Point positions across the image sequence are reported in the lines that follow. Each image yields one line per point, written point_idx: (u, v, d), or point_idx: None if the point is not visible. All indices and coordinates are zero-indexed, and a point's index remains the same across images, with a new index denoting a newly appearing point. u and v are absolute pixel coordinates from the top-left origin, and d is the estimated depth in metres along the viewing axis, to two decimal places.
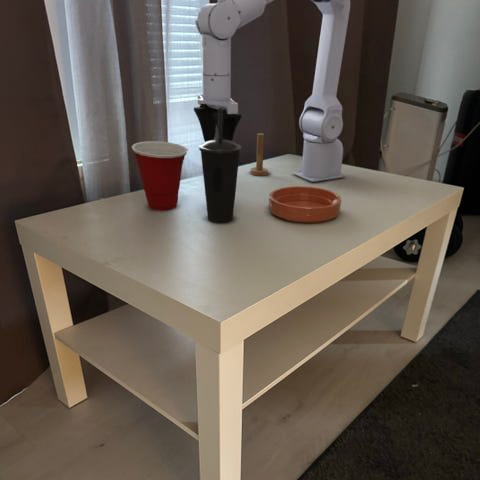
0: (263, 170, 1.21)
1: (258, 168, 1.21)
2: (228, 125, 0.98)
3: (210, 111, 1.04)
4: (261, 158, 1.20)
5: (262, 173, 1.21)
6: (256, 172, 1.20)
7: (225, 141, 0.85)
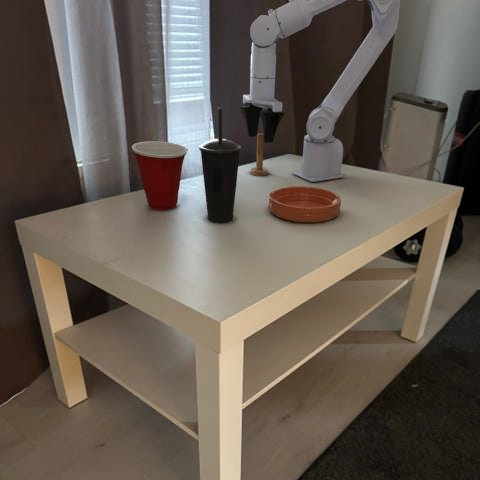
0: (263, 170, 1.21)
1: (258, 168, 1.21)
2: (272, 121, 1.13)
3: (254, 109, 1.18)
4: (261, 158, 1.20)
5: (262, 173, 1.21)
6: (256, 172, 1.20)
7: (225, 141, 0.85)
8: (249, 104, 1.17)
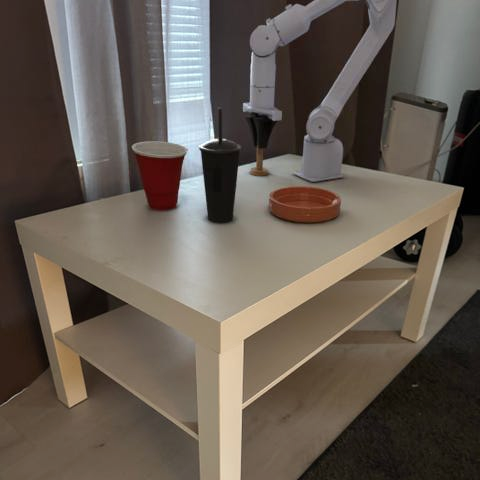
0: (263, 170, 1.21)
1: (258, 168, 1.21)
2: (265, 128, 1.16)
3: None
4: (261, 158, 1.20)
5: (262, 173, 1.21)
6: (256, 172, 1.20)
7: (225, 141, 0.85)
8: None
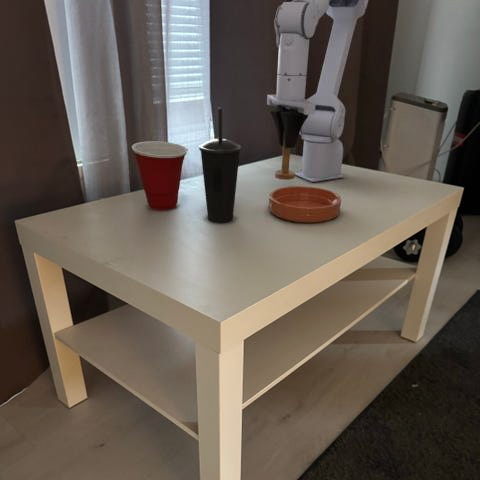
0: (289, 173, 1.04)
1: (284, 171, 1.04)
2: (294, 124, 0.99)
3: None
4: (287, 159, 1.03)
5: (288, 177, 1.03)
6: (282, 176, 1.03)
7: (225, 141, 0.85)
8: None
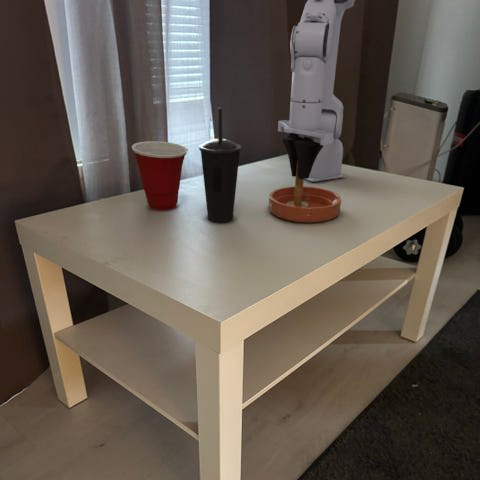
0: (303, 205, 0.96)
1: (296, 203, 0.96)
2: (309, 153, 0.90)
3: None
4: (301, 191, 0.94)
5: None
6: None
7: (225, 141, 0.85)
8: None
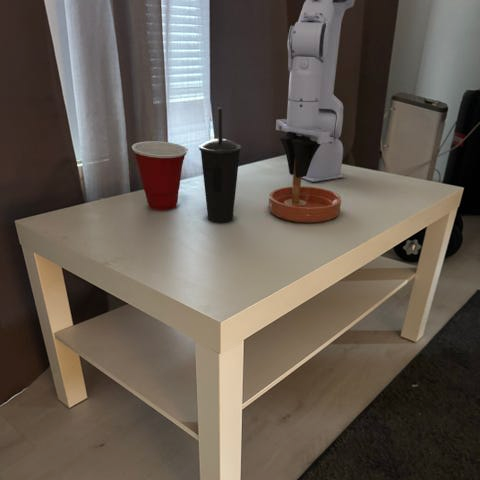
0: (300, 203, 0.97)
1: (294, 201, 0.97)
2: (306, 152, 0.91)
3: None
4: (298, 189, 0.95)
5: None
6: None
7: (225, 141, 0.85)
8: None
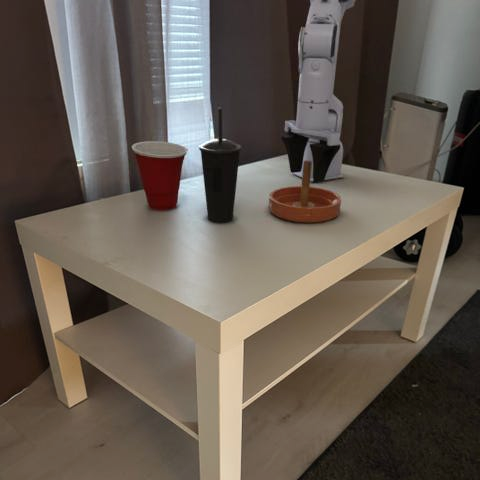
0: (309, 206, 0.97)
1: (303, 203, 0.97)
2: (324, 156, 0.89)
3: (299, 139, 0.94)
4: (307, 191, 0.95)
5: None
6: None
7: (225, 141, 0.85)
8: (293, 133, 0.93)
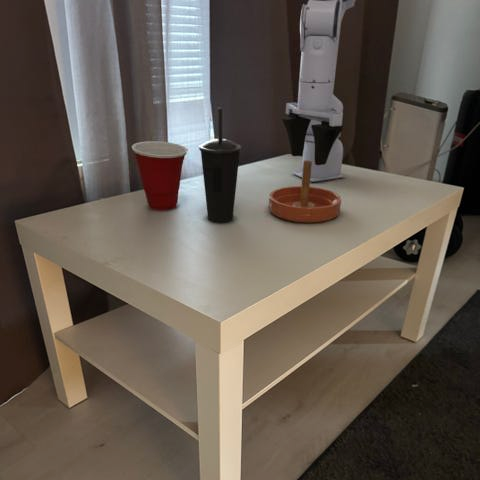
0: (309, 206, 0.97)
1: (303, 203, 0.97)
2: (326, 138, 0.87)
3: (301, 122, 0.92)
4: (307, 191, 0.95)
5: None
6: None
7: (225, 141, 0.85)
8: (295, 115, 0.92)
